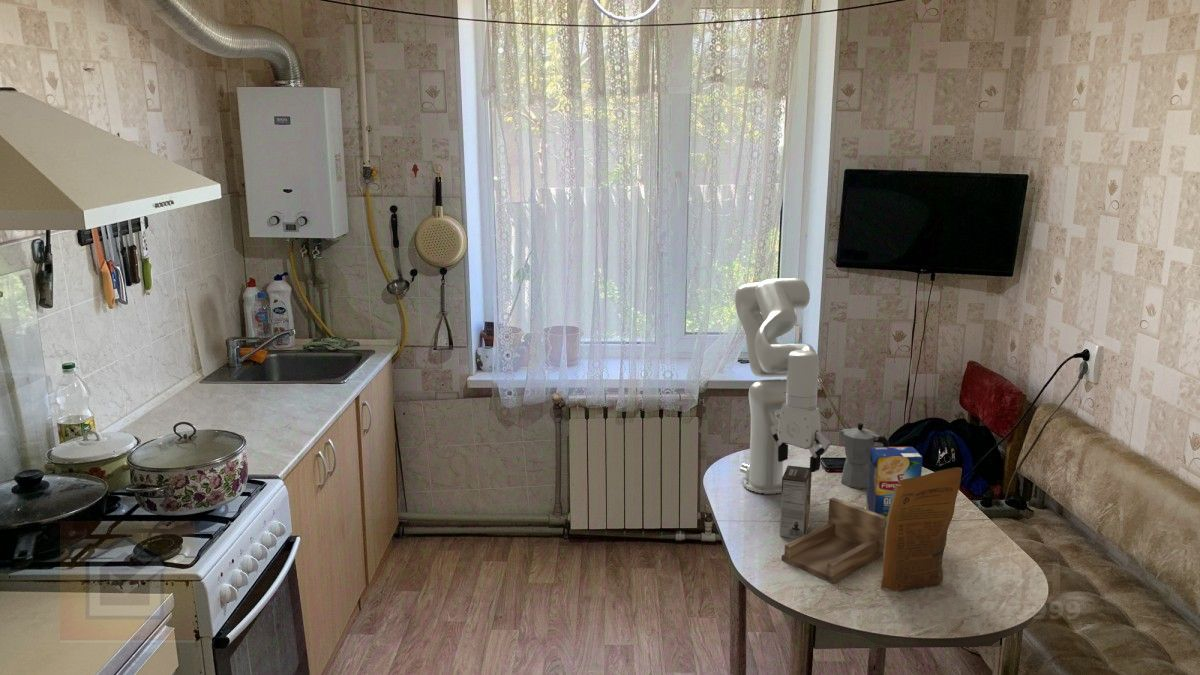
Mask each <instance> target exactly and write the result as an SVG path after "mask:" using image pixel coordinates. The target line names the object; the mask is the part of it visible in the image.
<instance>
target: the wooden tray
mask: <svg viewBox="0 0 1200 675" xmlns="http://www.w3.org/2000/svg"><path fill="white" fill-rule="evenodd" d="M828 501H829V502H828V514H827V523H826V524H824V525H822V526H820V527H818V528H815V529H814V530H812V531H810V532H807V533H806V535H804V536H802V537H800V538H798V539H797V538H795V539H794V540H792V541H790V542H788V543H786V544H784V554H781V561H783V560H784V562H785V561H786V562H785V563H788V564H790V565H792V564H793V565H792V566H794V567H797V568H799V569H801V570H803V571H806V572H808V573H811V575H815V576H816V577H819V578H822V579H824V580H825V581H829V582H831V583H833V584H836V583H838V582H840V581H841V580H843V579H845V578H846V577H847V578H848V576H850V575H852V574H854V573H855V572H858V571H859V570H861V569H862V568H864V567H866V566H868V565H869V564H871V563H873V562H875V561H876V560H878V559H879V558H881V557H884V544H885V539H884V537H885V524H886V517H885V516H883V515H880V514H877V513H874V512H872V511H869V510H866V508H864V507H861V506H858V505H854V504H852V503H850V502H847V501H844V500H841V499H839V498H835V497H831V498H829V499H828Z"/></svg>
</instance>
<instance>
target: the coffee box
mask: <svg viewBox="0 0 1200 675" xmlns="http://www.w3.org/2000/svg"><path fill="white" fill-rule="evenodd" d="M812 474H813V472H810V467H804V466H797V465H787V467H786V468H785V471H784V472H783V478H782V492H781V496H780V497H781V498H780V499H781V500H780V517H779V518H780V521H779V523H780V524H779V536H780V537H785V538H790V539H791V538H792V539H798V538H800V537H802V536H804V535H806V534H807V533H808V529H809V527H810V512H811V494H812V492H811V490H812Z"/></svg>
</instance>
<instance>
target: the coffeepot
mask: <svg viewBox="0 0 1200 675" xmlns="http://www.w3.org/2000/svg"><path fill="white" fill-rule="evenodd" d="M863 427H864V424H863V423H860V422H859V423H857V427H852V428H840V429H838V430H837V432H838V433H839V434H840V436H841V438H842V440H843V442H844V451H845V456H846V457H845V462H844V465H843V469H842V474H841V478H840V482H841V483H842V484H843V485H845V486H846V485H847V487H850V488H853V487H854V489H865V488H866V489H867V487H868V473H869V459H870V447H874V445H875V443H882V444H883V445H882V447H891V446H890V445H891V443H890V441H889V440H888V439H887V438H886V436H883V435H880V434H877V433H876V432H875V431H872V430H870V429H867V428H863Z"/></svg>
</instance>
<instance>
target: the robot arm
mask: <svg viewBox="0 0 1200 675" xmlns="http://www.w3.org/2000/svg"><path fill="white" fill-rule="evenodd" d="M736 289H737V290H736V292H735V296H734V297H735V299H734V302H735V303H734V304H735V309H736V314H737V317H738V319H739V321H740V324H741V325H742V328H743V330H744V333H745V339H746V340H745V341H746V347H747V348H746V349H747V353H748V354H747V355H748V362H749V368H750V371H751V373H752V374H753V375H754V376H755V377H759V378H776V379H762V380H757V381H755V382H753V383H752V384H751V385H750V387H749V390H748V402H749V403H748V404H749V411H750V412H749V413H750V439H749V440H750V442H749V464H748V463H742V465H741V467H740V468H739V471H740V473H742V474H745V477H744V479H743V484H744V485H743V487H744V486H745V487H746V488H745V487H744V488H745V489H747V490H748V489H749V490H748V491H750V490H752V491H755V492H754V493H756V492H758V493H757V494H761V493H764V494H763V495H776V493H777V494H782V478H783V475H784V462H785V461H787V460H788V458H789V445H790V446H794V447H798V448H800V449H803V450H809V453H810V454H811V456H809V457H810V458H809V468H810V472H812V473H815V472H817V471H819V470H820V467H821V456H823V454H825V453H826V452H827V451H828V449H829V447H830V446H831V441H830V440H829V439H828V438H827V437H825V435H823V433H821V416H820V415H821V414H820V409H819V407H818V406H817V404H818V387H819V386H818V383H819V381H818V380H819V364H820V363H819V362H820V358H819V355H818V354H817V351H816V350H815V348H814V347H813V345H811V344H809V343H805V342H804V343H803V342H802V343H780V342H778V341H777V340H778V339H777V338H779V337H781V336H783V335H785V334H787V333H789V332H790V331H792V329H794V327H795V326H796V325H797V320H798V318H797V314H796V311H800V310H803V309H805V308H806V307H808V305H809V303H810V299H811V292H810V288H809V286H808V284H807V283H806V281H805V280H803V279H802V278H799V277H797V278H796V277H795V278H790V277H788V278H786V277H785V278H768V279H765V280H763V281H760V282H749V283H745V284H742V285H740V286H739V287H738V288H736ZM778 378H782V379H778ZM783 378H785V379H783ZM777 415H779V417H777ZM820 444H821V445H820ZM820 446H821V447H820ZM752 491H751V492H752Z"/></svg>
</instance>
